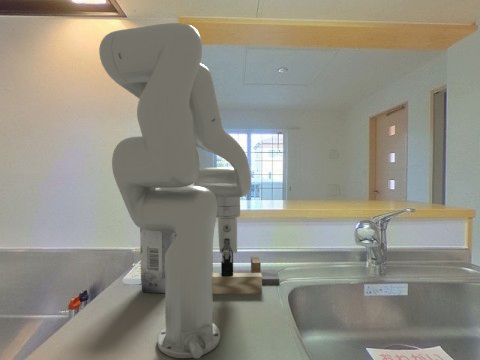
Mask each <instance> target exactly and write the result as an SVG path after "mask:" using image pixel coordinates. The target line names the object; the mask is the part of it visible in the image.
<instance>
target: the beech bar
mask: <svg viewBox="0 0 480 360" xmlns="http://www.w3.org/2000/svg"><path fill="white" fill-rule="evenodd" d="M215 294H217V295H218V294H219V295H220V294H221V295H222V294H223V295H224V294H225V295H226V294H227V295H228V294H263V284H262V275H261V273H233V276H232V277H222V276H221V272H213V295H215Z"/></svg>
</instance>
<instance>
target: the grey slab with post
mask: <svg viewBox="0 0 480 360" xmlns="http://www.w3.org/2000/svg"><path fill="white" fill-rule="evenodd" d="M233 273H261V275H262V285H278V284H279V285H280V281H281V280H280V276H279V273H277V270H276V269H262V268H261V259H260V256H259V254H250V269H233Z"/></svg>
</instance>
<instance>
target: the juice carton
mask: <svg viewBox="0 0 480 360" xmlns="http://www.w3.org/2000/svg"><path fill="white" fill-rule="evenodd" d="M139 229H140V230H139V231H140V234H139V237H140V238H139V239H140V242H139V243H140V244H139V245H140V280H141V281H140V283H141V289H142V292H143V293H160V294H163V293H164V294H165V256H166V252H167V250H168V248H169V247H170V245H171V244H172V242H173V241H174V240H175V238H176V236H177V234H176V233H171V232H162V231H148V230H143V229H141V228H139Z"/></svg>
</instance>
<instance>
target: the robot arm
mask: <svg viewBox="0 0 480 360" xmlns="http://www.w3.org/2000/svg"><path fill="white" fill-rule="evenodd" d="M98 49H99V51H98V53H99V59H100V62H101V64H102V65H101V66H102V67H103V69H104V71H105V72H106V74H107V75H108V76H109V77H110V78H111V79H112V80H113V81H114V82H115V83H116V84H117V85H119V86H120V87H121V88H123V89H124V90H126V91H128V92H129V93H130V94H132V95H133V96H135V97H137V99H138V103H137V107H136V108H137V109H136V117H137V122H138V126H139V130H140V133H141V135H140V136H130V137H127V138H124V139H122V140H121V141H120V142H119V143H117V145H116V146H115V147H114V150H113V153H112V158H111V162H112V163H111V168H112V174H113V178H114V180H115V182H116V186H117V188H118V190H119V193H120V195H121V197H122V200H123V202H124V205H125V208H126V210H127V212H128V214H129V217H130V219H131V220H132V222H133V223H134V225H135V226H137V228H139V229H140V228H141V229H143V230H148V231H162V232H171V233H176V234H177V236H176V238H175V240H174V241H173V242H172V244H171V245H170V247H169V248H168V250H167V252H166V256H165V293H164V294H165V295H164V302H165V304H164V306H165V310H164V311H165V312H164V313H165V320H164V321H165V325H164V326H165V327H163V328H162V330H161V331H159V333H158V335H157V347H158V350H160V352H161V353H163V354H164V355H166V356H169V357H172V358H175V359H191V358H194V359H199V358H201V357H202V356H204V355H207V354H208V353H210V352H211V351H213V350H214V349H215V348H216V347H217V346H218V345H219V344H220V341H221V330H220V329H219V327H218V326H217V325H216V324H215V323H213V320H214V319H213V317H214V315H213V314H214V313H213V310H214V309H213V307H214V306H213V305H214V304H213V303H214V301H213V300H214V299H213V298H214V297H213V296H214V294H213V273H214V271H213V270H214V269H213V267H214V266H213V262H214V261H213V259H214V257H213V254H214V253H213V252H214V237H215V236H214V234H215V227H216V221H217V229H218V231H217V232H218V245H219V246H218V247H219V253H220V254H221V261H220V263H221V264H220V269H221V271H220V273H221V276H222V277H232V276H233V270H234V254H237V253H238V220H237V218H239V217H241V198H243V197H245V196H247V195H248V194H249V192H250V190H251V187H252V178H251V170H250V166H249V160H248V156H247V154H246V152H245V150H244V148H243V147H242V146H241V145H240V143H239V142H238V141H237V140H236V139H235V138H233V136H231V134H230V133H228V132H226V130H224V128H223V122H222V119H221V114H220V109H219V105H218V100H217V95H216V90H215V86H214V83H213V82H214V81H213V78H212V74H211V72H210V70H209V68H208V67H207V66H205V64H202V63H201V61H202V56H203V43H202V39H201V35H200V33H199V31H198V29H196V28H195V27H194V26H192V25H190V24H187V23H182V22H169V23H166V22H165V23H159V24H153V25H147V26H145V25H144V26H141V27H132V28H126V29H120V30H115V31H111V32H109V33H107V34H106V35H105V36H104V37H103V38H102V40H101V42H100V44H99V48H98ZM198 148H200V149H202V150H204V151H206V152H209V153H211V154H214V155H217V156H218V157H221V158H222V159H223V160H225V161H226V162H228V163H229V164H230V166H231V167H229V166H223V167H222V166H221V167H203V168H201V162H200V157H199V151H198Z"/></svg>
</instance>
